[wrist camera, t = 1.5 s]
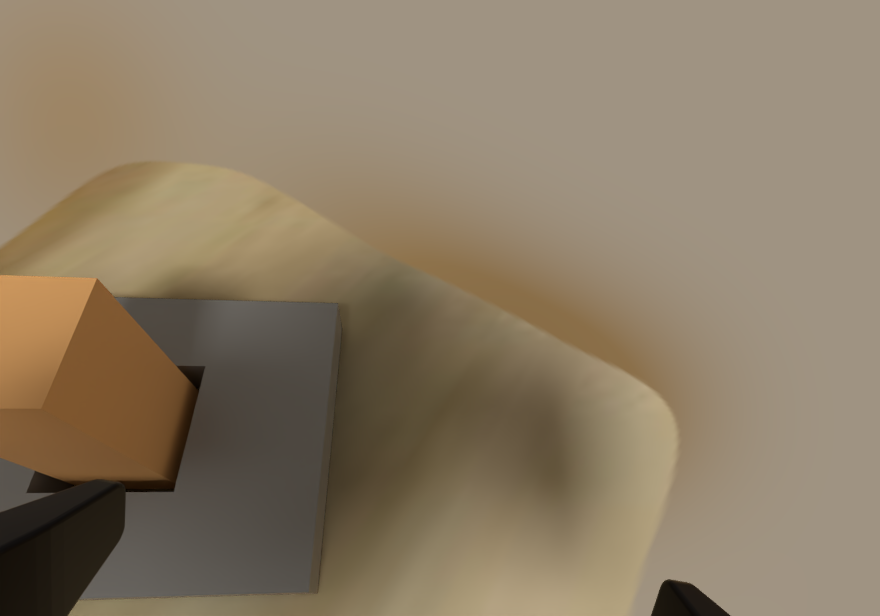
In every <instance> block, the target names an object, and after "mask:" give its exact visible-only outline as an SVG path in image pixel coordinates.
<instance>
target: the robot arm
mask: <svg viewBox="0 0 880 616" xmlns="http://www.w3.org/2000/svg"><path fill="white" fill-rule="evenodd" d="M125 508H126V489H125V486H124V485H123V484H122V483H120V482H116V481H110V480H105V479H95V480H92V481H89V482H86V483H83V484H80V485H77V486H74V487H71V488H69V489H66V490H63V491H60V492H57V493H54V494H51V495H48V496H45V497H42V498H40V499H37V500H34V501H31V502H28V503H25V504H22V505H19V506H16V507H13V508H11V509H8V510H5V511H2V512H0V616H68V614H69V613H70V611H71V610H72V608H73V607H74V606H75V604H76V603H77V601H78V600H79V598H80V597H81V596H82V594H83V593H84V591H85V590H86V588H87V587H88V586H89V584H90V583H91V581H92V580H93V578H94V577H95V575H96V574H97V573H98V571H99V570H100V568H101V567H102V565H103V564H104V563H105V561H106V560H107V558H108V557H109V555H110V554H111V552H112V551H113V550H114V548H115V547H116V545H117V544H118V542H119V541H120V539H121V537H122V534H123V532H124V528H125ZM651 616H730V615H729V614H728V613H727V612H725V611H724V610H723V609H722V608H721V607H719V606H718V605H717V604H716V603H715V602H713V601H712V600H711V599H710V598H709V597H707V596H706V595H705V594H704V593H702V592H701V591H700V590H699V589H698V588H696V587H695V586H694V585H692V584H690V583H687V582H682V581H676V580H670V579H668V580H665V581H664V582H663V583H662V585H661V587H660V590H659V593H658V596H657V599H656V602H655V606H654V608H653V611H652V614H651Z"/></svg>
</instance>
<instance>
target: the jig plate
mask: <svg viewBox="0 0 880 616" xmlns="http://www.w3.org/2000/svg"><path fill="white" fill-rule="evenodd" d="M114 298H115V299H116V300H117V301H118V302H119V303H120V304H121V305H122V306H123V308H124V309H125V310H126V311H127V312H128V313H129V314H130V315H131V316H132V318H133V319H134V320H135V321H136V322H137V323H138V324H139V325H140V326H141V328H142V329H143V330H144V331H145V332H146V333H147V334H148V335H149V336H150V338H151V339H152V340H153V341H154V342H155V343H156V344H157V345H158V346H159V348H160V349H161V350H162V351H163V352H164V353H165V354H166V355H167V356H168V358H169V359H170V360H171V361H172V362H173V363H174V364H175V365H176V366H177V368H178V369H179V370H180V371H181V372H182V373H183V374H184V375H185V376H186V377H187V379H188V380H189V381H190V382H191V383H192V384H193V385H194V386H195V387H196V388H200V390H199V394H198V397H197V401H196V405H195V409H194V413H193V417H192V421H191V425H190V429H189V433H188V437H187V441H186V445H185V449H184V453H183V457H182V461H181V465H180V469H179V473H178V477H177V481H176V485H175V489H174V492H126V508H125V528H124V532H123V534H122V537H121V539H120V541H119V542H118V544H117V545H116V547H115V548H114V550H113V551H112V552H111V554H110V555H109V557H108V558H107V560H106V561H105V563H104V564H103V565H102V567H101V568H100V570H99V571H98V573H97V574H96V575H95V577H94V578H93V580H92V581H91V583H90V584H89V586H88V587H87V588H86V590H85V591H84V593H83V594H82V596H81V597H80V598H79V600H99V599H134V598H170V597H205V596H240V595H275V594H310V593H318V583H319V573H320V562H321V551H322V540H323V530H324V519H325V508H326V497H327V487H328V476H329V465H330V454H331V443H332V433H333V422H334V411H335V400H336V390H337V379H338V368H339V357H340V347H341V336H342V324H341V318H340V312H339V306H338V303H308V302H271V301H234V300H197V299H160V298H123V297H114ZM71 487H72V484H70V483H67V482H64V481H62V480H59V479H56V478H53V477H51V476H48V475H45V474H43V473H40V472H37V471H35V470H32V469H29V468H26V467H24V466H21V465H18V464H16V463H13V462H10V461H8V460H5V459H2V458H0V512H2V511H5V510H8V509H11V508H13V507H16V506H19V505H22V504H25V503H28V502H31V501H34V500H37V499H40V498H42V497H45V496H48V495H51V494H54V493H57V492H60V491H63V490H66V489H69V488H71Z"/></svg>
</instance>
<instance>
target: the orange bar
mask: <svg viewBox="0 0 880 616" xmlns="http://www.w3.org/2000/svg"><path fill="white" fill-rule="evenodd" d="M198 394H199V391H198V390H197V389H196V387H195V386H194V385H193V384H192V383H191V382H190V381H189V380H188V379H187V377H186V376H185V375H184V374H183V373H182V372H181V371H180V370H179V369H178V368H177V366H176V365H175V364H174V363H173V362H172V361H171V360H170V359H169V358H168V356H167V355H166V354H165V353H164V352H163V351H162V350H161V349H160V348H159V346H158V345H157V344H156V343H155V342H154V341H153V340H152V339H151V338H150V336H149V335H148V334H147V333H146V332H145V331H144V330H143V329H142V328H141V326H140V325H139V324H138V323H137V322H136V321H135V320H134V319H133V318H132V316H131V315H130V314H129V313H128V312H127V311H126V310H125V309H124V308H123V306H122V305H121V304H120V303H119V302H118V301H117V300H116V299H115V298H114V297H113V295H112V294H111V293H110V292H109V291H108V290H107V289H106V288H105V287H104V285H103V284H102V283H101V282H100V281H99V280H98V279H97V278H74V277H40V276H6V275H0V458H2V459H5V460H8V461H10V462H13V463H16V464H18V465H21V466H24V467H26V468H29V469H32V470H35V471H37V472H40V473H43V474H45V475H48V476H51V477H53V478H56V479H59V480H62V481H64V482H67V483H70V484H72V485H75V486H77V485H80V484H83V483H86V482H89V481H92V480H95V479H105V480H110V481H116V482H120V483H122V484H123V485H124V486H125V489H175V485H176V481H177V477H178V473H179V469H180V465H181V461H182V457H183V453H184V449H185V445H186V441H187V437H188V433H189V429H190V425H191V421H192V417H193V413H194V409H195V405H196V401H197V397H198Z"/></svg>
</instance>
